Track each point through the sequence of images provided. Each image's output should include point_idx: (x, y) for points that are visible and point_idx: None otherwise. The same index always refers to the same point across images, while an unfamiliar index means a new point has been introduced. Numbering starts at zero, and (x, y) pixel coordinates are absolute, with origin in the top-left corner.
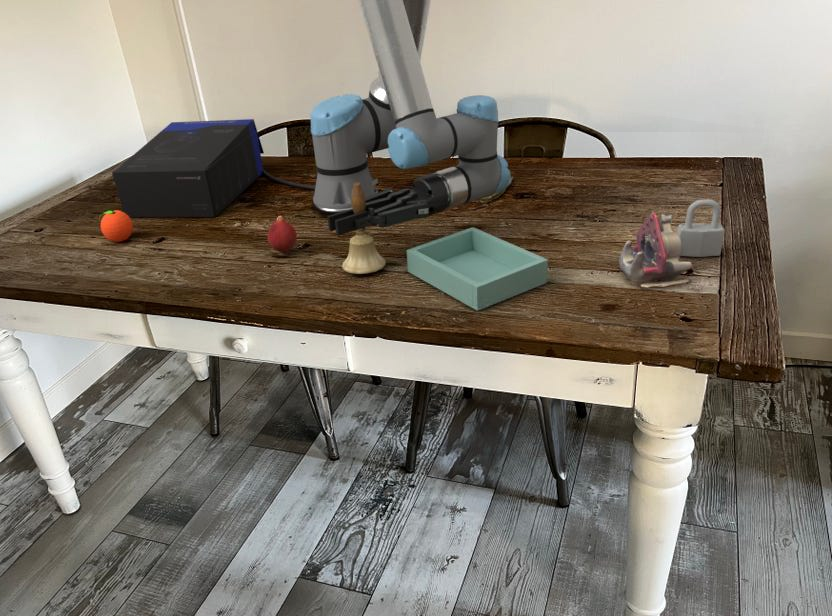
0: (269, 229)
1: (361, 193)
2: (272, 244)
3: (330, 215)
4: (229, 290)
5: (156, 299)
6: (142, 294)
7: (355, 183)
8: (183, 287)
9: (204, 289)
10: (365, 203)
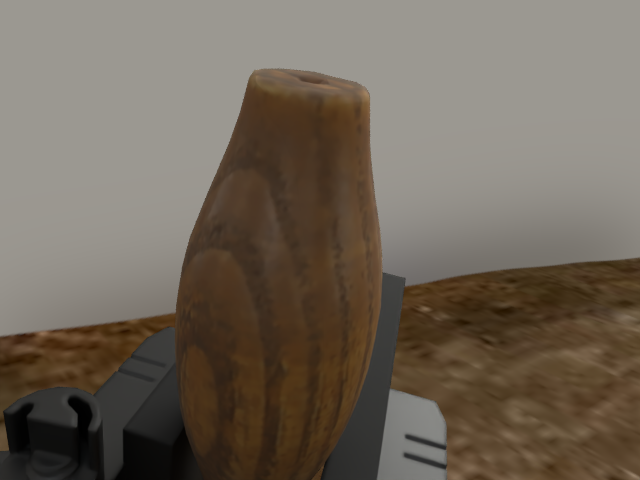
0: None
1: (202, 209)
2: None
3: (397, 288)
4: (501, 331)
5: (558, 271)
6: (602, 274)
7: (330, 80)
8: (593, 310)
9: (550, 317)
10: (188, 402)
